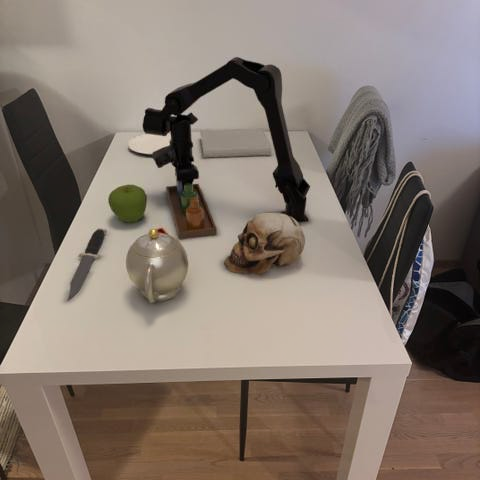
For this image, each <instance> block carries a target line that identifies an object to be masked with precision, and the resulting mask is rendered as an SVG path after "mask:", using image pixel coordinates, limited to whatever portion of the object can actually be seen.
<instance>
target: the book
mask: <svg viewBox="0 0 480 480" xmlns="http://www.w3.org/2000/svg"><path fill="white" fill-rule="evenodd" d="M199 133H200V144H201V150H202V156H203V159H205V158H208V159H209V158H231V157H234V158H235V157H257V156H271V153H272V152H271V149H272V148H271V143H270V142H269V139H268V137H267V134H266V132H265V130H264V128H242V129H240V128H239V129H237V128H236V129H215V130H214V129H208V130H207V129H206V130H200V132H199Z"/></svg>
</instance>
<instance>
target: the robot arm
mask: <svg viewBox="0 0 480 480" xmlns="http://www.w3.org/2000/svg"><path fill="white" fill-rule="evenodd" d="M231 80H236V81H237V82H239V83H241V84H242V85H243V86H245V87H247V88H249V89H252V90H253V91H254V94H255V96H256V99H257V101H258V102H259V104H260V105H261V107H262V108H263V109H264V112H265V116H266V122H267V125H268V129H269V133H270V137H271V141H272V145H273V150H274V153H275V158H276V162H277V165H276V167H275V169H274V170H273V171H272V178H273V180H274V182H275V186H274V188H277V190H278V192H279V193H280V194H282V198H283V201H284V203H285V207H284V208H285V209H284V210H281V211H280V213H281V214H285V215H287V216H290V217H292V218H294V219H295V220H296V221H297V222H298V223H304V222H309V220H310V219H309V217H308V216H307V215H306V207H307V194H308V193H309V191H310V188H311V184H309V182H308V181H307V180H306V179H305V178H304V173H303V172H302V169H301V166H300V164H299V163H298V161H297V159H296V158H295V157H294V154H293V153H294V152H293V148H292V144H291V139H290V135H289V131H288V126H287V122H286V116H285V112H284V108H283V101H282V99H283V78H282V72H281V70H280V68H279V67H278V66H276V65H275V64H266V65H265V64H263V63H260V62H256V61H252V60H247V59H244V58H241V57H239V56H235V57H232V58H231V59H230V60H228V61H227V62H226V63H224V65H222V66H220V67H218V68H217V69H215V70H213V71H212V72H210V73H208V74H207V75H205V76H203V77H202V78H200V79H199V80H197V81H195V82H191V83H187V84H183V85H181V86H178V87H177V88H175V89H173V90H172V91H171V92H169V93H168V94H167V95H165V97H164V105H163V108H162V109H155V108H153V107H151V108H150V107H147V108H146V109H145V110H144V116H143V119H142V124H141V125H142V129H143V132H144V134H151V135H159V136H166V135H167V134H168V133H169V134H171V139H170V141H169V142H170V145H169V146H166V147H163V148H161V149H159V150H157V151H155V152H153V153H152V155H151V156H152V159H153V161H154V164H155V165H156V167H157V168H158V169H161V168H163V167H164V166H166V165H169V164H171V165H172V167H174V175H175V180H176V179H177V180H178V181H181V183H182V186H183V190H185V188H184V184H186V183H193V184H194V181H195V180H198V179H199V178H200V172H199V168H198V167H197V166H196V165H195V164H194V163H193V162H195V158H194V155H193V148H194V143H193V140H192V125H194V124H195V123H197V122H198V121H199V119H198V117H197V116H196V115H195V114H193V112H192V111H191V112H189V113H187V114H183V113H185V112H186V111H187V110H188V109H190V108H191V107H192V106H193V105H194V104H195V103H197V101H199V100H200V99H201V98H202V97H205V96H206V95H207V94H209V93H211V92H212V91H214V90H216V89H217V88H219V87H221V86H223V85H224V84H226V83H228V82H229V81H231Z"/></svg>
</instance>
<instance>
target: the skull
mask: <svg viewBox="0 0 480 480" xmlns="http://www.w3.org/2000/svg"><path fill="white" fill-rule="evenodd" d="M299 223H300V222H297V221H296V220H295V219H294V218H292V217H290V216H287V215H285V214H281V212H262V213H261V212H260V213H258V214H255V216H254V217H253V218H252V219H249V220H248V221H247V223H246V225H245V226H244V228H243V230H242V232H241V233H240V234H238V235H237V239H238V241H237V242H236V243H235V244H234V245H233V247H232V248H231V251H230V254H229V255H228V256H227V257H226V258H225V260H224V262H223V263H224V266H225V268H226V269H227V270H229V271H231V272H233V273H237V274H247V275H257V276H262V275H263V274H265V273H266V272H267V271H268V269H269V268H270V267H271V266H278V267H279V266H280V267H287V266H289V265H290V264H292V263H294V262H296V260H297V259H298V258H299V257H300V256H301V254H303V252H304V249H305V245H306V236H305V234H304V233H305V232H304V230H303V228H302V226H301V225H300V224H299Z"/></svg>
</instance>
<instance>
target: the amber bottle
mask: <svg viewBox="0 0 480 480" xmlns="http://www.w3.org/2000/svg"><path fill="white" fill-rule="evenodd" d="M186 220H187V230H195V229H204V228H205V227H204V209H203V208H201V207H200V205H199V200H198V199H197V198H192V199H190V206H189V208H187V209H186Z"/></svg>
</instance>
